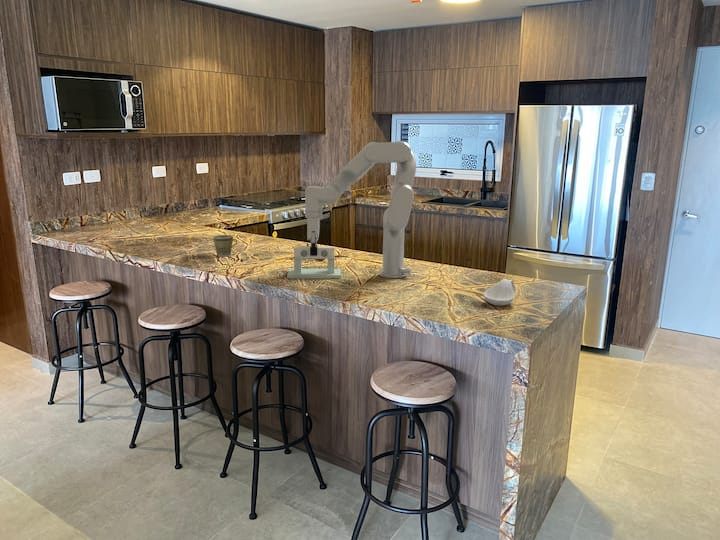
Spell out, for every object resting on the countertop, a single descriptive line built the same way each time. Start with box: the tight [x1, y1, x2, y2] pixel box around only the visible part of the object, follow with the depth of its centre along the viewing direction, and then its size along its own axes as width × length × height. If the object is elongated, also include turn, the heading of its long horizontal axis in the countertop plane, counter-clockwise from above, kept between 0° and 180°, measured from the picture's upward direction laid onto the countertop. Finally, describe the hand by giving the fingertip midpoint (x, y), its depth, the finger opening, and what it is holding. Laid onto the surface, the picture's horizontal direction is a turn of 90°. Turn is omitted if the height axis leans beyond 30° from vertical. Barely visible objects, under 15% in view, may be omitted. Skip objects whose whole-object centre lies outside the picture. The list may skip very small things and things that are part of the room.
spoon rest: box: [483, 278, 516, 307], centre depth 217 cm, size 24×12×7 cm, turn 153°
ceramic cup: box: [212, 234, 238, 258], centre depth 283 cm, size 13×10×10 cm
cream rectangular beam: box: [293, 245, 335, 260], centre depth 247 cm, size 18×4×5 cm, turn 93°
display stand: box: [286, 256, 342, 279], centre depth 248 cm, size 24×12×9 cm, turn 93°
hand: (313, 254), depth 247 cm, fingers open, 3 cm apart
